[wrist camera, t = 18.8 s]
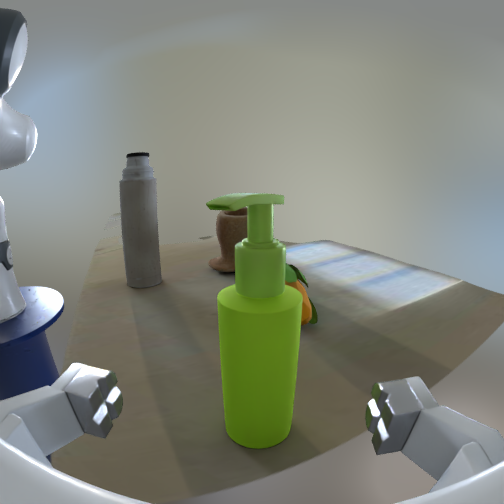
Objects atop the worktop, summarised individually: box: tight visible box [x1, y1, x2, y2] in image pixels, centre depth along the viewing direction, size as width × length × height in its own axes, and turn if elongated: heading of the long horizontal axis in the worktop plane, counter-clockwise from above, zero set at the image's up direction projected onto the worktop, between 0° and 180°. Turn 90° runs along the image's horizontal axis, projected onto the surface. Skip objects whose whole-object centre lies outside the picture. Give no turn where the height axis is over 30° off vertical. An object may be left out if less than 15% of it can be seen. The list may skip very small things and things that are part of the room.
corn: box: [285, 263, 317, 325], centre depth 47 cm, size 7×8×20 cm
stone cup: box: [208, 207, 248, 272], centre depth 72 cm, size 15×12×15 cm
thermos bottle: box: [120, 152, 162, 288], centre depth 59 cm, size 8×8×28 cm
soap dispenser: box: [206, 193, 303, 449], centre depth 21 cm, size 6×7×20 cm
